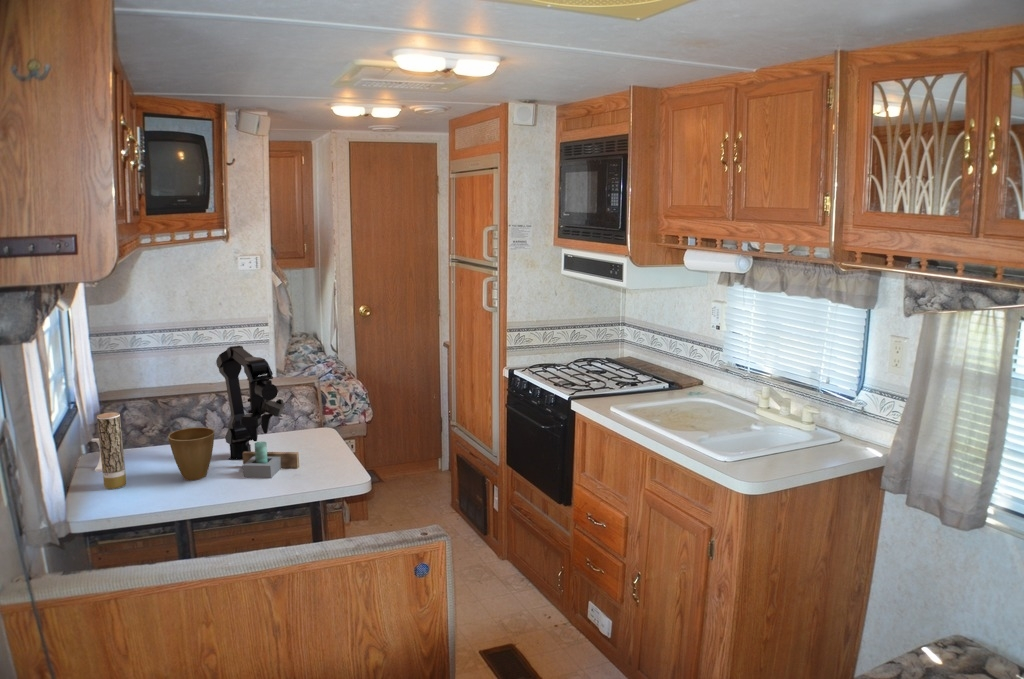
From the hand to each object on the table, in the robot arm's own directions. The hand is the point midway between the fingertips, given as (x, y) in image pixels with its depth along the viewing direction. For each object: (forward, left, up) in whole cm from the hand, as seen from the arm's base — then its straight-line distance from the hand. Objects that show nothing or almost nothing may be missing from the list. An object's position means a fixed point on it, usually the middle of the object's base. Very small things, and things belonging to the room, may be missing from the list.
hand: (260, 437), depth 275 cm
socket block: (+1, -2, -13) cm, 13 cm away
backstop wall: (+2, +4, -13) cm, 13 cm away
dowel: (+1, -2, -13) cm, 13 cm away
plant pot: (-21, -8, -13) cm, 26 cm away
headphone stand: (-58, -1, -13) cm, 60 cm away
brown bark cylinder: (-44, -18, -13) cm, 49 cm away
